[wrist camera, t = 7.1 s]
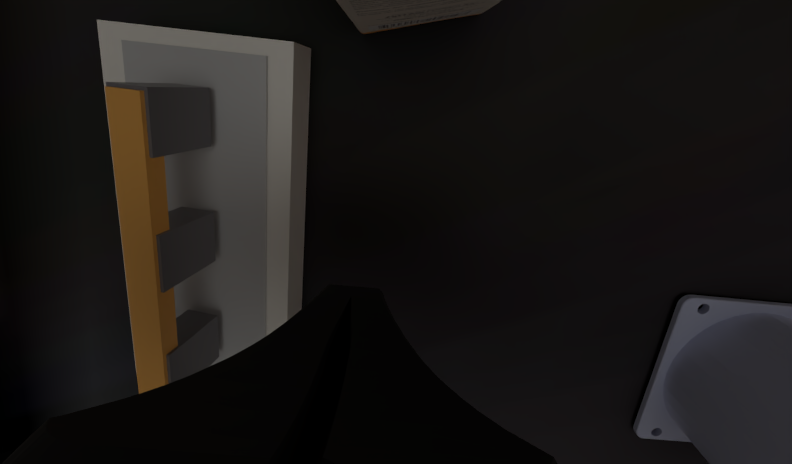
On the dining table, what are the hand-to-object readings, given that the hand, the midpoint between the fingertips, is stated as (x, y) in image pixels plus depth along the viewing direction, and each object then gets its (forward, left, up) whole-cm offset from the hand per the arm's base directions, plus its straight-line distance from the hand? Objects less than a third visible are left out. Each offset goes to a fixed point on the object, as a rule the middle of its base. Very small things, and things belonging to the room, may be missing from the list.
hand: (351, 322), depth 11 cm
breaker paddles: (+6, 0, -5) cm, 7 cm away
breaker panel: (+6, 0, -8) cm, 10 cm away
